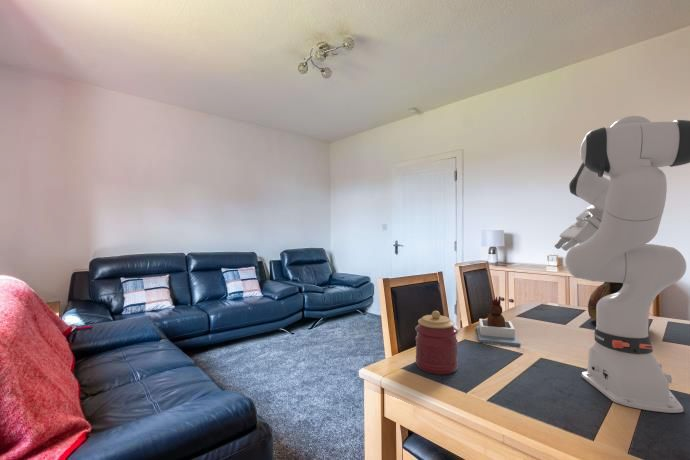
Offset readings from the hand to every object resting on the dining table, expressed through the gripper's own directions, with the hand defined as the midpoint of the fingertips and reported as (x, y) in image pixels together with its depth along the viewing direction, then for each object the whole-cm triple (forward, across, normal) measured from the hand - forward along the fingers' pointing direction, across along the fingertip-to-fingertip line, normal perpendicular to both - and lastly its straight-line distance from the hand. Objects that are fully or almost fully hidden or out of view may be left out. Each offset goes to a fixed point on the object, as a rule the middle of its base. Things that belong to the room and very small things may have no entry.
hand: (559, 248), depth 123 cm
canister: (+56, +37, -6) cm, 67 cm away
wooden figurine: (+40, 0, +9) cm, 41 cm away
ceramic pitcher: (+5, -30, +46) cm, 55 cm away
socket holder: (+41, +2, +9) cm, 42 cm away
